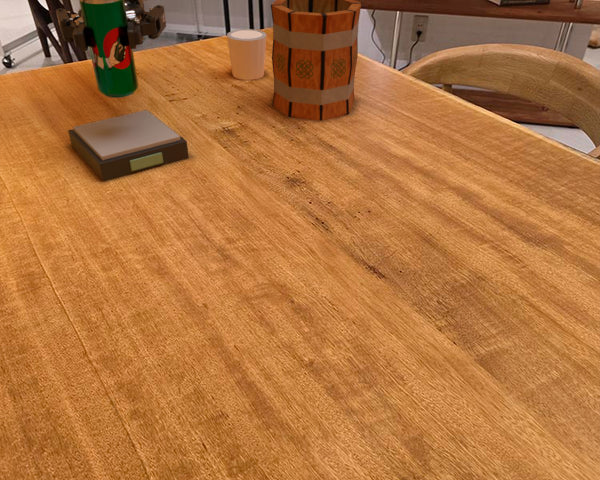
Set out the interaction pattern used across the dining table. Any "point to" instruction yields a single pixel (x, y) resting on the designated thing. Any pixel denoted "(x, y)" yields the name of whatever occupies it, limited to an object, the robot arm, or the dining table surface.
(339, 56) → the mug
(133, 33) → the robot arm
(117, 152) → the scale
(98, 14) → the soda can
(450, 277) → the dining table surface
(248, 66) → the white cup
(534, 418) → the dining table surface
